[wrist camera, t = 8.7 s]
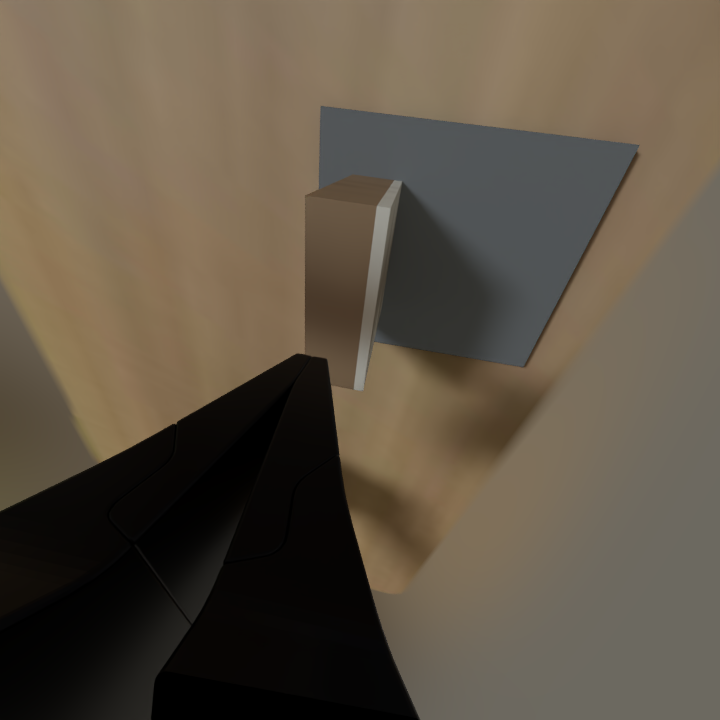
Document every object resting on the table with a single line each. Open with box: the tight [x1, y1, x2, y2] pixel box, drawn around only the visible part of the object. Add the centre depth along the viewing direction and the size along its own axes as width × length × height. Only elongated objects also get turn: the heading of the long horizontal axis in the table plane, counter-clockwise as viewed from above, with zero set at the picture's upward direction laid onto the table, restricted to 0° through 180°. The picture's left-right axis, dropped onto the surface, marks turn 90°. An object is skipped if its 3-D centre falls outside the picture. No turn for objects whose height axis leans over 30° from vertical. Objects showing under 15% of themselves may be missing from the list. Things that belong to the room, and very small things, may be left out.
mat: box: [319, 106, 639, 367], centre depth 17 cm, size 12×14×1 cm
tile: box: [305, 174, 402, 391], centre depth 14 cm, size 7×2×8 cm, turn 174°
